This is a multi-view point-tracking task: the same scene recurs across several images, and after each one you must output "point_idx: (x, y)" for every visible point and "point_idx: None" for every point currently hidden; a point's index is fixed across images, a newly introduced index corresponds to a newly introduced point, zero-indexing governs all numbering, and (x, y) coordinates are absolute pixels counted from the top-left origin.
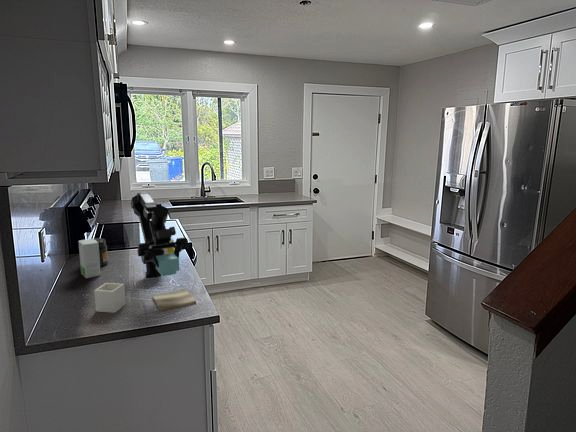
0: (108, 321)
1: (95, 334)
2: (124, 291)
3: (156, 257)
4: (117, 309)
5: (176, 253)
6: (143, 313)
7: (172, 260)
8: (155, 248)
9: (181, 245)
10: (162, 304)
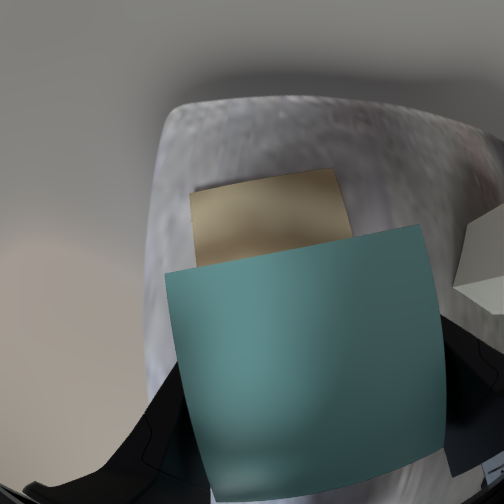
0: (465, 173)
1: (463, 124)
2: (484, 278)
3: (443, 400)
4: (467, 235)
5: (169, 430)
6: (388, 180)
7: (256, 258)
8: (478, 500)
9: (51, 489)
10: (328, 201)
